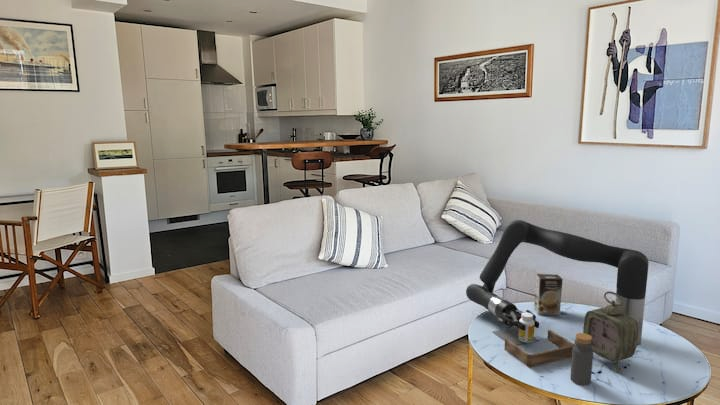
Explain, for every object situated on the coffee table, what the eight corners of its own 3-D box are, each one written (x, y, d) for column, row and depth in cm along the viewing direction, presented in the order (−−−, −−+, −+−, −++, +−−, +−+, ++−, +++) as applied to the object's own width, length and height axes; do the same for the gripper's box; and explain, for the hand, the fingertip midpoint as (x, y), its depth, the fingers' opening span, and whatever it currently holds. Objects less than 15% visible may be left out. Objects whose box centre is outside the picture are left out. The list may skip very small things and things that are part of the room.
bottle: (566, 375, 149) (569, 332, 146) (584, 374, 150) (587, 331, 147) (576, 386, 143) (579, 341, 141) (594, 385, 144) (598, 340, 141)
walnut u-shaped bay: (504, 349, 166) (504, 339, 166) (549, 339, 173) (550, 329, 172) (528, 367, 154) (529, 356, 154) (576, 356, 161) (577, 345, 160)
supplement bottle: (533, 336, 172) (535, 312, 170) (533, 343, 167) (535, 318, 165) (518, 334, 174) (519, 310, 172) (518, 341, 169) (519, 316, 167)
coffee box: (537, 315, 194) (539, 278, 191) (533, 309, 200) (535, 273, 198) (560, 315, 193) (562, 279, 190) (555, 309, 200) (557, 273, 197)
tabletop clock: (581, 355, 161) (586, 287, 157) (599, 350, 165) (605, 283, 160) (618, 376, 148) (625, 302, 144) (638, 369, 152) (645, 297, 147)
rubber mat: (492, 332, 180) (492, 331, 180) (518, 327, 184) (518, 326, 184) (512, 346, 169) (512, 345, 169) (538, 340, 173) (539, 339, 173)
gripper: (487, 302, 179) (515, 320, 164) (518, 297, 184) (548, 314, 168) (486, 320, 181) (514, 340, 165) (517, 314, 185) (547, 333, 170)
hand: (531, 326), depth 167 cm, fingers closed on supplement bottle, 5 cm apart
